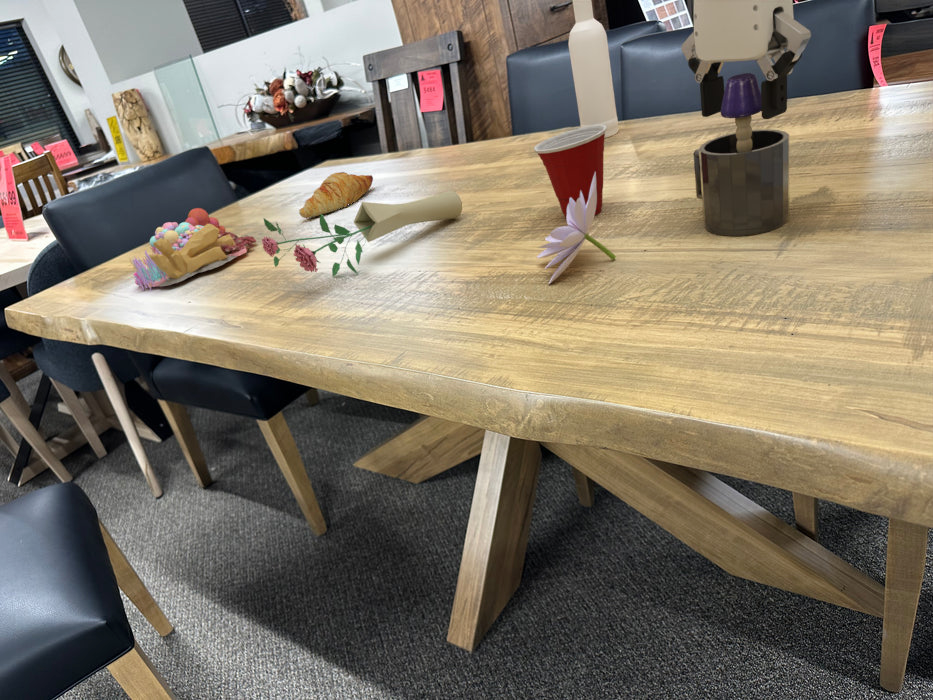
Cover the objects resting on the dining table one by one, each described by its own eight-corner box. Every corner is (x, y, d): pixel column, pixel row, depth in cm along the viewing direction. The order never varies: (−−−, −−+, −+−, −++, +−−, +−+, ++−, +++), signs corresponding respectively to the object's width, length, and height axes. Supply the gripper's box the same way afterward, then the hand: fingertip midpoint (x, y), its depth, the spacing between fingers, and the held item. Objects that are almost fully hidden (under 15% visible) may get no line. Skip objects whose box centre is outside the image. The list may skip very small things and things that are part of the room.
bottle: (575, 141, 140) (551, -11, 126) (596, 130, 144) (576, -18, 130) (604, 140, 135) (582, -19, 121) (626, 129, 139) (607, -26, 125)
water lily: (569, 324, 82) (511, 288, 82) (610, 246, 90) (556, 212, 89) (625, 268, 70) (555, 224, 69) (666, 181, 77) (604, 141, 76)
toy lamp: (770, 218, 78) (767, 73, 70) (729, 224, 79) (722, 83, 71) (761, 205, 82) (758, 67, 74) (722, 212, 83) (715, 77, 75)
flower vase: (470, 263, 112) (297, 313, 89) (424, 238, 119) (252, 279, 96) (480, 198, 106) (297, 234, 83) (430, 176, 113) (249, 204, 90)
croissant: (317, 237, 136) (316, 206, 130) (285, 216, 139) (282, 184, 133) (385, 199, 148) (387, 169, 142) (354, 181, 152) (354, 150, 146)
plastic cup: (559, 203, 105) (546, 130, 99) (625, 197, 99) (615, 119, 94) (537, 229, 97) (521, 150, 91) (606, 224, 91) (594, 140, 86)
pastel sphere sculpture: (275, 245, 125) (257, 200, 121) (162, 298, 112) (137, 250, 108) (222, 237, 143) (204, 197, 138) (119, 282, 130) (96, 240, 125)
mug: (807, 213, 78) (808, 131, 73) (748, 242, 75) (746, 158, 70) (725, 199, 89) (721, 126, 84) (671, 223, 86) (664, 149, 81)
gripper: (839, -84, 60) (833, 106, 68) (700, -49, 75) (709, 104, 83) (782, -68, 58) (783, 127, 66) (651, -35, 72) (665, 121, 81)
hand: (742, 114), depth 74 cm, fingers open, 8 cm apart
